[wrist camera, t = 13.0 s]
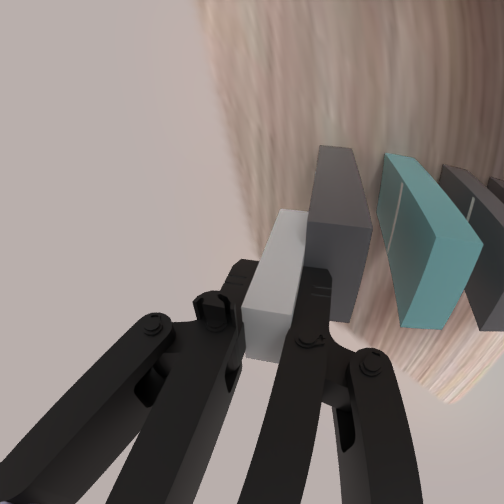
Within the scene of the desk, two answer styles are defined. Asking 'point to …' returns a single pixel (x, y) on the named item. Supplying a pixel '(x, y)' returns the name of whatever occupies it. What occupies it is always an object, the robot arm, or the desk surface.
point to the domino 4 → (496, 188)
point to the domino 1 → (338, 227)
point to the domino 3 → (493, 251)
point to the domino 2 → (424, 243)
